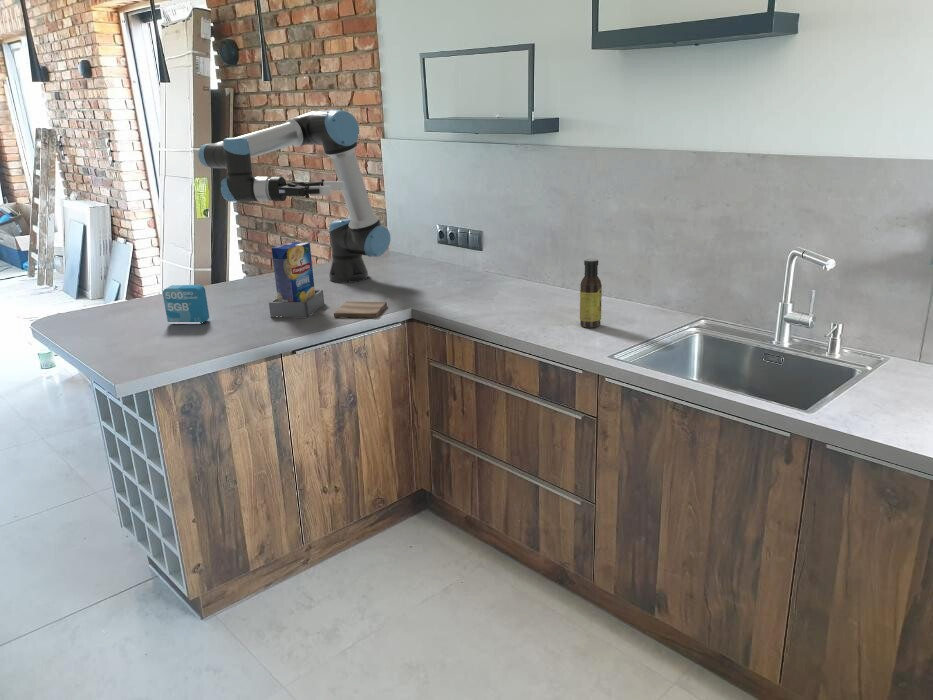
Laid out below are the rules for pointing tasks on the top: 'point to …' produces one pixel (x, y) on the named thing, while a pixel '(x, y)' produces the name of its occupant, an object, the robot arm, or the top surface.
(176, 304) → the data package
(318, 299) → the charcoal crate
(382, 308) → the brown flat wooden slab
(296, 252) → the beverage box
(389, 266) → the top surface
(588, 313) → the sauce bottle
